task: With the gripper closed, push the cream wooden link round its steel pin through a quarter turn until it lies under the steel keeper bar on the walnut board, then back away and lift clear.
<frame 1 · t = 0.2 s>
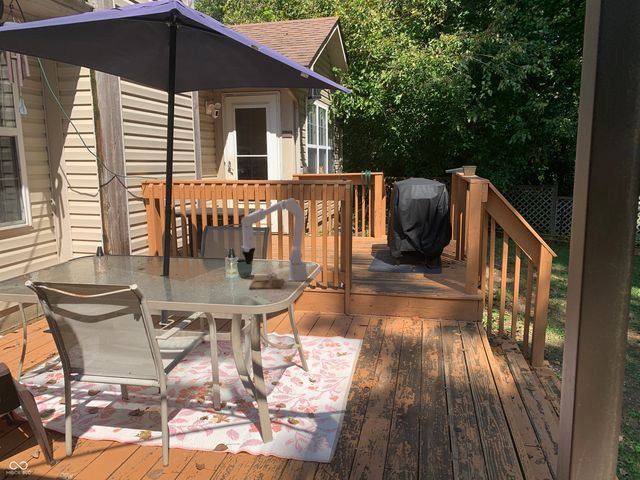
hand: (249, 262, 270), 10 cm above the table, tool pointing down, fingers open, 7 cm apart
hinge board: (266, 284, 260), on the table
flower pot: (244, 276, 283), on the table
link: (265, 276, 266), point 3 cm above the table, hinge at 0.0°
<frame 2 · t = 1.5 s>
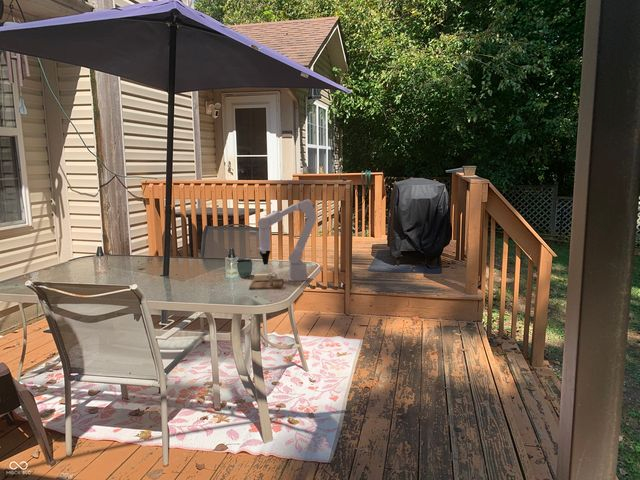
hand: (265, 264, 271), 9 cm above the table, tool pointing down, fingers closed
nothing on the table moved.
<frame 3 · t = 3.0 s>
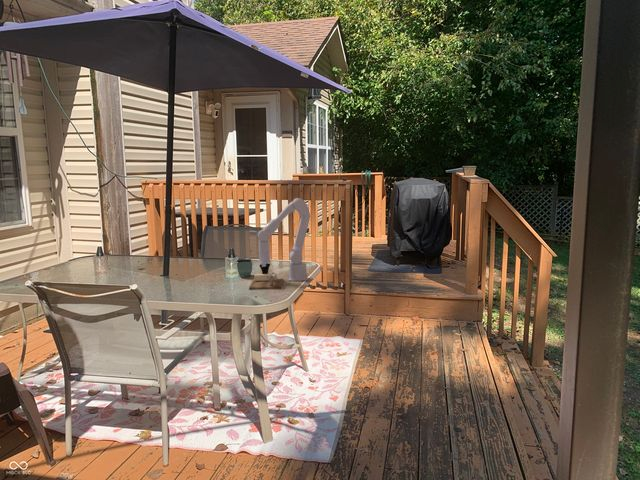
hand: (265, 277, 268), 2 cm above the table, tool pointing down, fingers closed, pressing on link
link: (265, 276, 266), point 3 cm above the table, hinge at 0.2°, touching gripper
everything else where it was.
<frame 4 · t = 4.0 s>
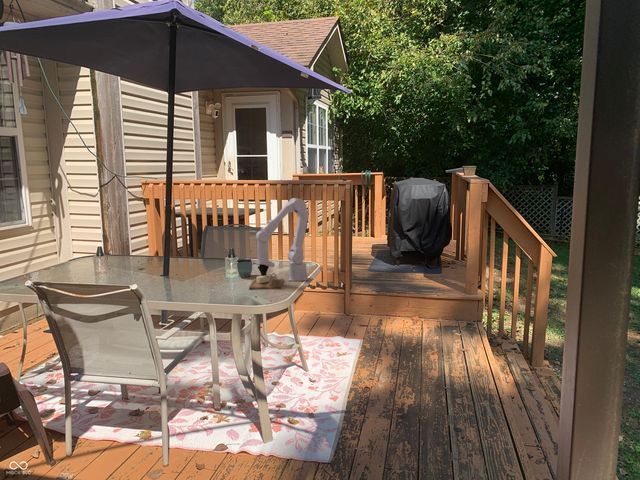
hand: (264, 278, 264), 2 cm above the table, tool pointing down, fingers closed, pressing on link
link: (267, 277, 263), point 3 cm above the table, hinge at 42.0°, touching gripper
everything else where it was.
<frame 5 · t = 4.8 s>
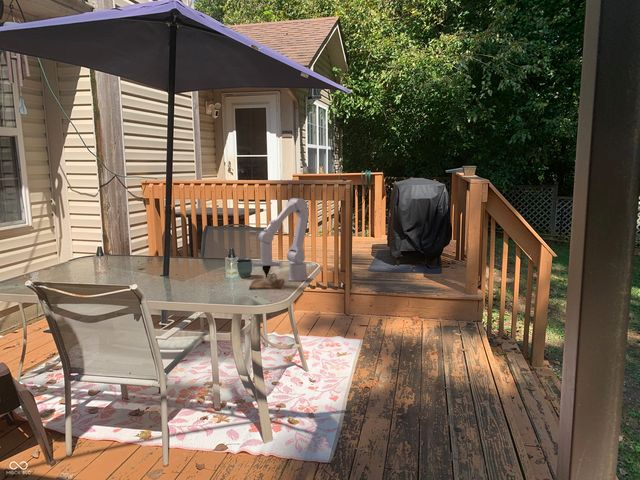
hand: (267, 279, 261), 2 cm above the table, tool pointing down, fingers closed, pressing on link
link: (271, 277, 262), point 3 cm above the table, hinge at 80.8°, touching gripper
everything else where it was.
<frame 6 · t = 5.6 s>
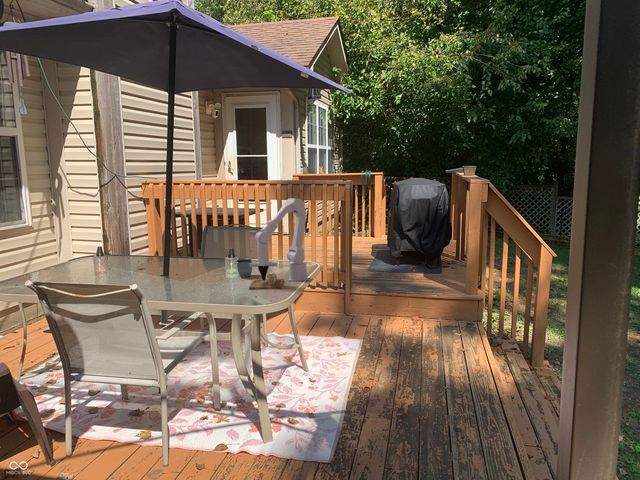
hand: (264, 280, 261), 2 cm above the table, tool pointing down, fingers closed
link: (272, 277, 262), point 3 cm above the table, hinge at 88.4°
everything else where it was.
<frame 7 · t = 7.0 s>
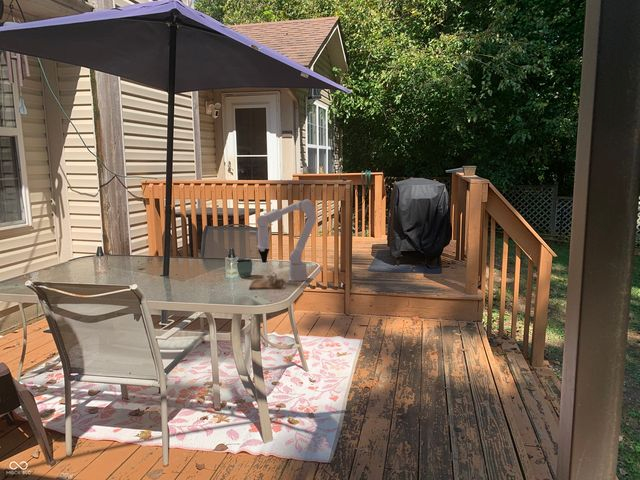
hand: (264, 262, 270), 10 cm above the table, tool pointing down, fingers closed
nothing on the table moved.
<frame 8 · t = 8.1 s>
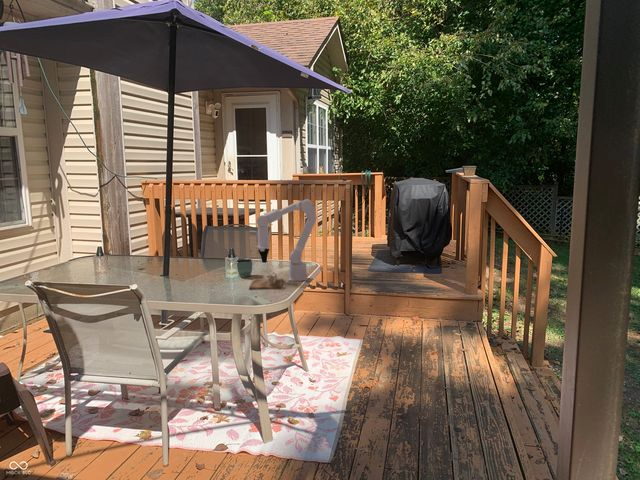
hand: (264, 262, 270), 10 cm above the table, tool pointing down, fingers closed
nothing on the table moved.
at the end: link at +88° (first picture: +0°); flower pot moved 0.2 cm from its start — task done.
